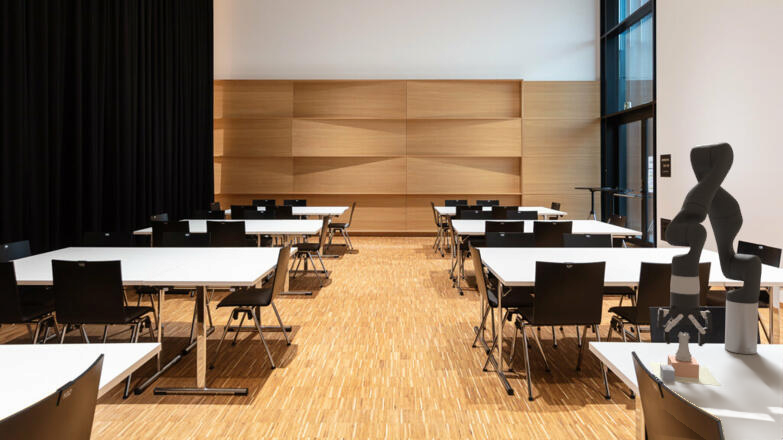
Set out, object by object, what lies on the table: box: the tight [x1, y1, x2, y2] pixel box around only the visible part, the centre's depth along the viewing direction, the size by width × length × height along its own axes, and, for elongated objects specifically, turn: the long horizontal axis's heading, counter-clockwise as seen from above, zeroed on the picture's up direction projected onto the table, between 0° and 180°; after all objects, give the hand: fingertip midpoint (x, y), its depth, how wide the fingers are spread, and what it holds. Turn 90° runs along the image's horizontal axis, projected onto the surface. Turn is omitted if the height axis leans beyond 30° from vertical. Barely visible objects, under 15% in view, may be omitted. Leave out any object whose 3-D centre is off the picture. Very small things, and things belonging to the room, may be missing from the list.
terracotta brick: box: [667, 354, 700, 378], centre depth 158 cm, size 7×7×4 cm
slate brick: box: [660, 364, 675, 382], centre depth 154 cm, size 5×3×3 cm, turn 162°
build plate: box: [648, 362, 722, 387], centre depth 158 cm, size 16×16×1 cm
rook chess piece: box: [674, 331, 693, 362], centre depth 157 cm, size 4×4×8 cm
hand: (683, 344), depth 157 cm, fingers open, 8 cm apart
